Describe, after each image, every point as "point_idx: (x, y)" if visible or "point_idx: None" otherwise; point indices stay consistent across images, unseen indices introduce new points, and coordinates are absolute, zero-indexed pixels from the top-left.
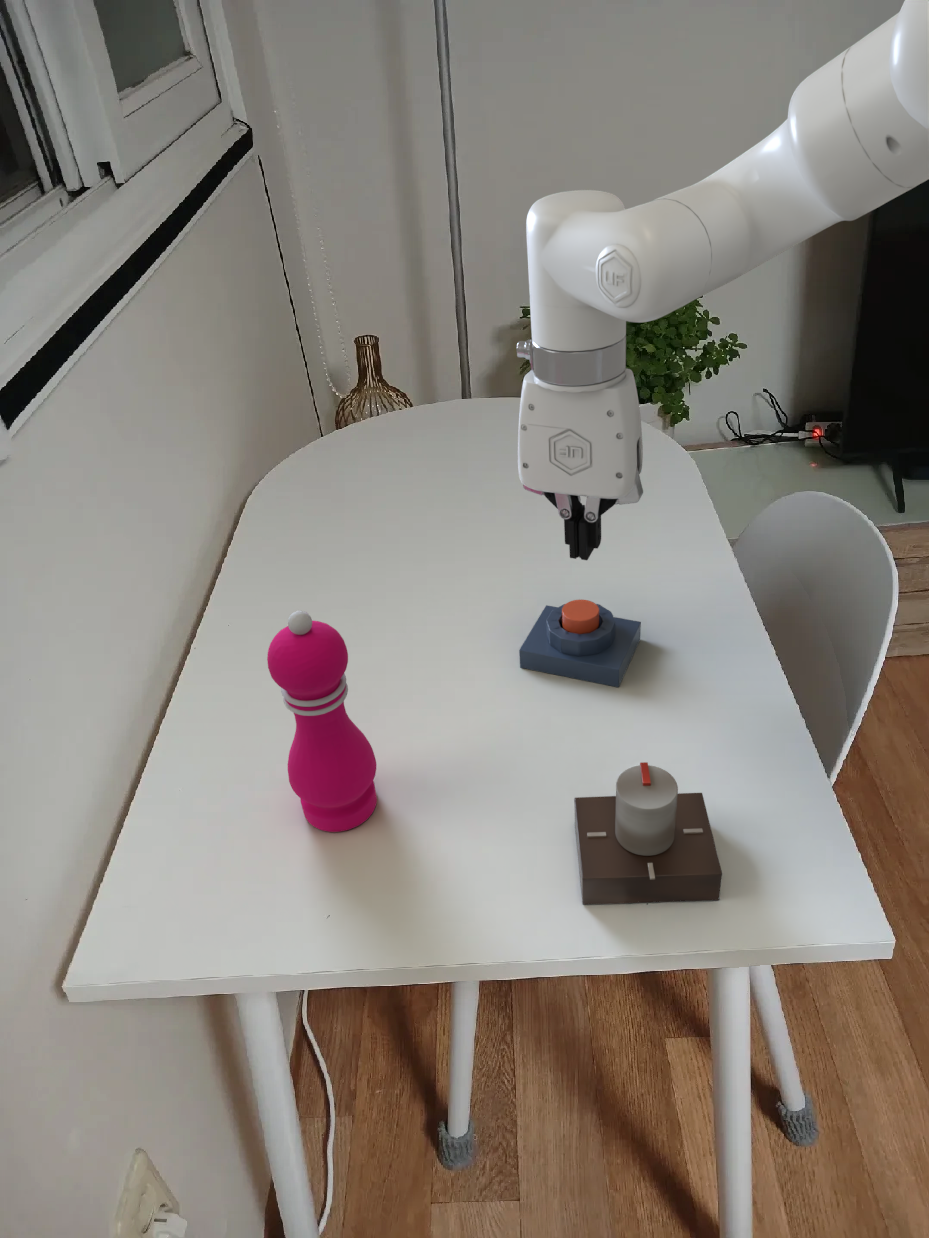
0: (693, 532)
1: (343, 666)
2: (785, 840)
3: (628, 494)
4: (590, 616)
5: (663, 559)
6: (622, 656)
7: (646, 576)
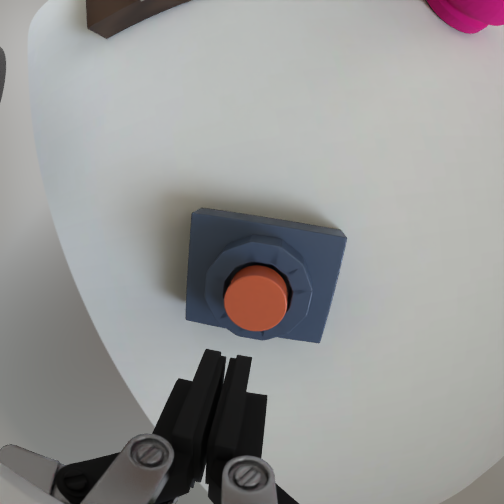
0: None
1: None
2: (55, 52)
3: (18, 472)
4: (234, 288)
5: None
6: (192, 242)
7: None
